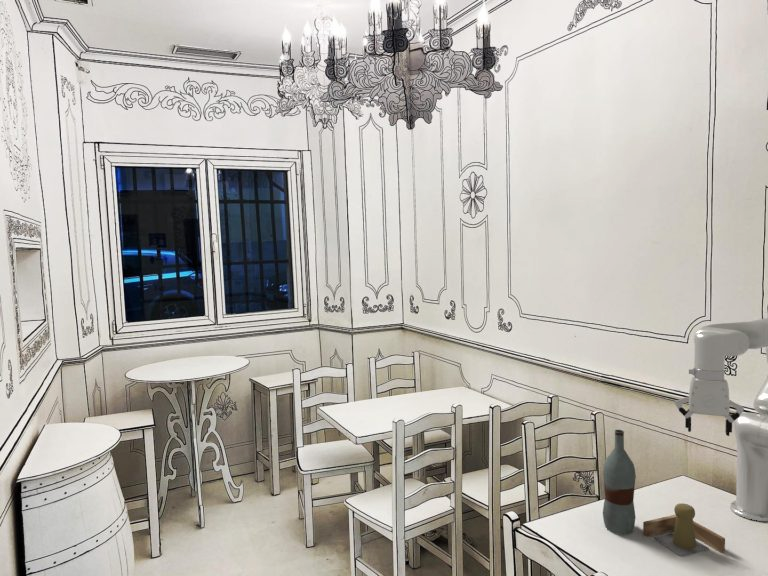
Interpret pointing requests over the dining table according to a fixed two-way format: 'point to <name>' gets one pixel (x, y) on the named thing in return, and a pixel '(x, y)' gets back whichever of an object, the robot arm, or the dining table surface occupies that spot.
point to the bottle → (619, 489)
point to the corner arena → (668, 525)
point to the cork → (684, 526)
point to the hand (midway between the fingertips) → (708, 432)
